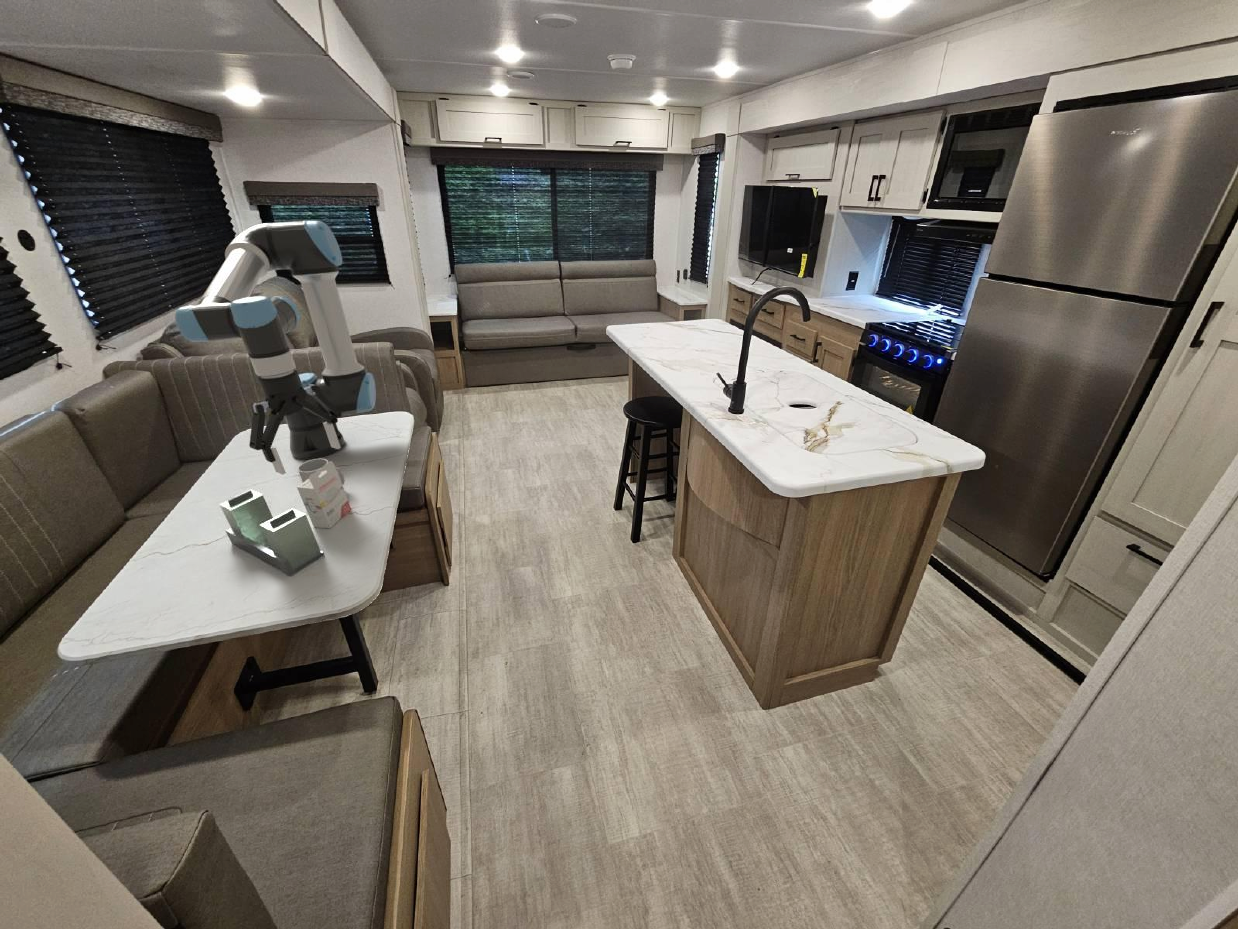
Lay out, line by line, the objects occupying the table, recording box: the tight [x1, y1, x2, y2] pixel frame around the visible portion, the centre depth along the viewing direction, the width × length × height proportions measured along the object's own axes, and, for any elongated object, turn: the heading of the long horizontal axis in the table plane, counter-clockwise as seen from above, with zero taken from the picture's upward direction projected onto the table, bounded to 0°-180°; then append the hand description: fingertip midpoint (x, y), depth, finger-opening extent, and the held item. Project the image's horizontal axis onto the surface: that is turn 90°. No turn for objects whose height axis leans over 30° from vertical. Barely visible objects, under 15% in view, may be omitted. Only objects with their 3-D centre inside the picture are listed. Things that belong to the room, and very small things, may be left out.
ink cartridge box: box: [296, 460, 352, 529], centre depth 128 cm, size 9×5×15 cm, turn 168°
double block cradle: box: [219, 489, 325, 577], centre depth 118 cm, size 8×24×12 cm, turn 59°
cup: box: [297, 458, 345, 486], centre depth 140 cm, size 7×10×9 cm
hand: (309, 459), depth 122 cm, fingers open, 13 cm apart
